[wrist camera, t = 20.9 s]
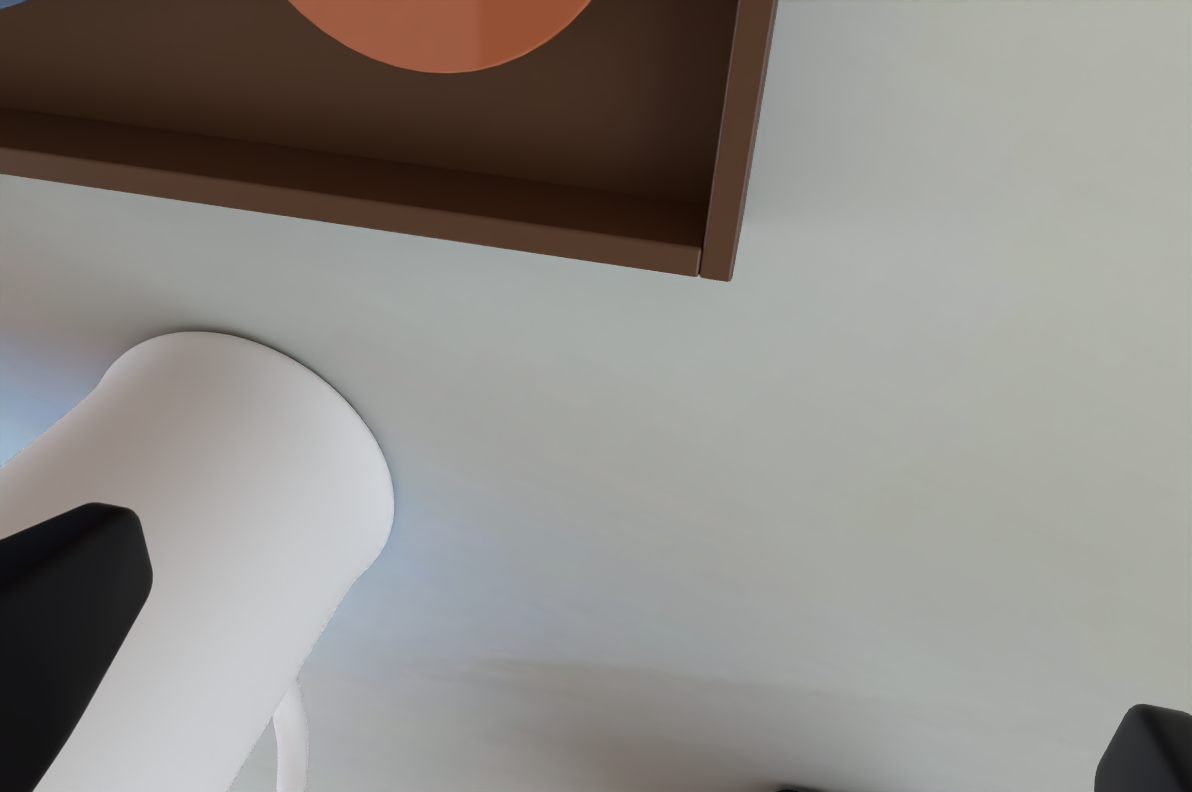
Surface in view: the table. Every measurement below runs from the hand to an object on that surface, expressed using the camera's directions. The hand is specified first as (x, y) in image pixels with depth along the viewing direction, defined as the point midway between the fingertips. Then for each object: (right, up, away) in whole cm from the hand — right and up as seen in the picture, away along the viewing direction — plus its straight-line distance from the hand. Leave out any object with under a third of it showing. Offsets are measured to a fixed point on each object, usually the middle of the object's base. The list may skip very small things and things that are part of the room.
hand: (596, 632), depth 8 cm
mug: (-9, -1, +18) cm, 20 cm away
